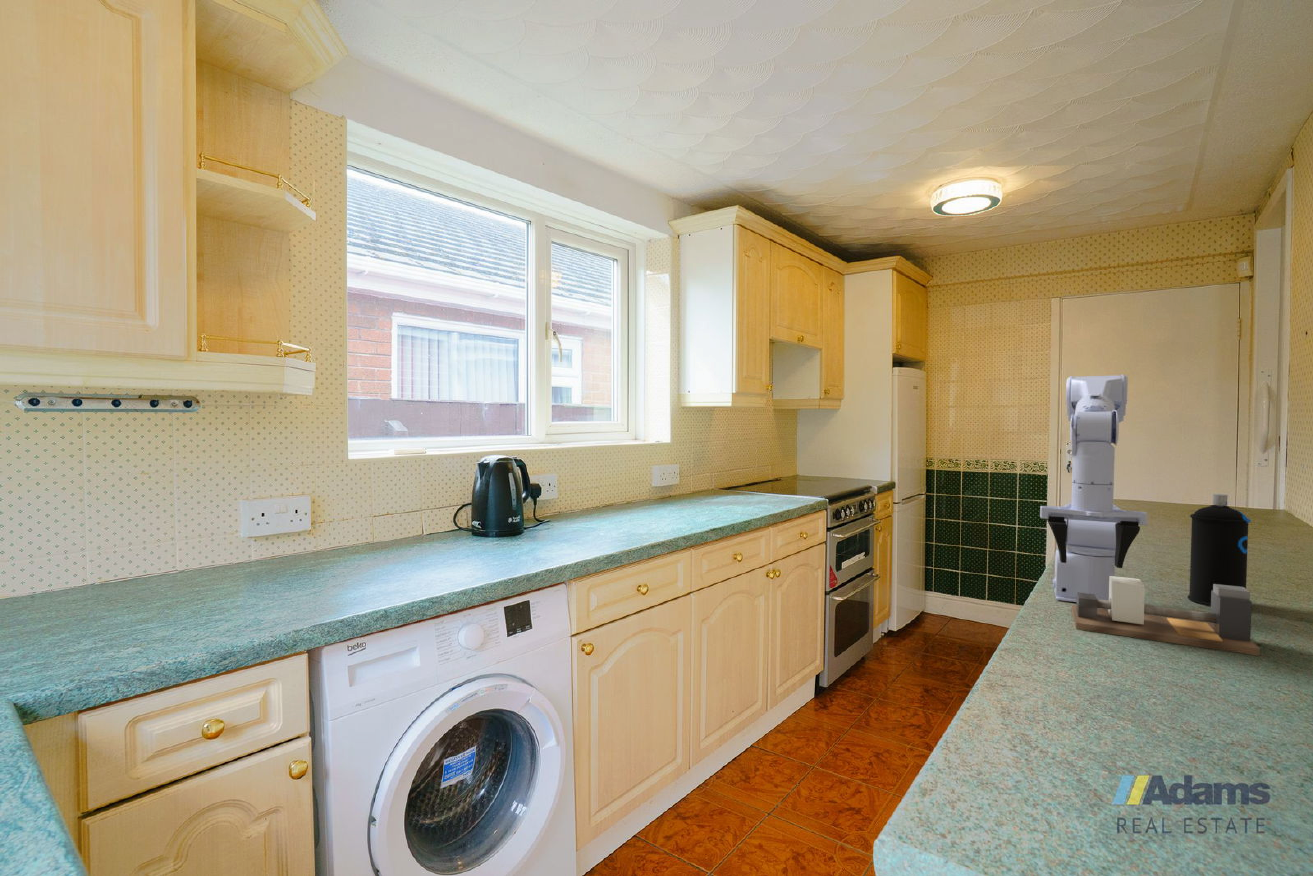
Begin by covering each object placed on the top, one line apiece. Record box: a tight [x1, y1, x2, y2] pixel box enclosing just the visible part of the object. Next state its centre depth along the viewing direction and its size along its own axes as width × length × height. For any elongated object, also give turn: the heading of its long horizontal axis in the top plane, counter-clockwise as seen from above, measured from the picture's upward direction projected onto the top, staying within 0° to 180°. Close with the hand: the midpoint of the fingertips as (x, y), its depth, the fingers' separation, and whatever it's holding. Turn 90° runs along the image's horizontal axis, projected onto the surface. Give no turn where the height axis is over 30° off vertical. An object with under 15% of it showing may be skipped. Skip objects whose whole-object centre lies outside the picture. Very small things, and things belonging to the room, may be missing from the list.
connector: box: [1209, 584, 1253, 642], centre depth 94 cm, size 4×5×7 cm
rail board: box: [1070, 592, 1261, 656], centre depth 99 cm, size 22×11×4 cm, turn 60°
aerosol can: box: [1187, 493, 1251, 607], centre depth 114 cm, size 8×8×20 cm
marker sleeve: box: [1108, 575, 1146, 624], centre depth 101 cm, size 4×5×6 cm
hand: (1090, 564), depth 104 cm, fingers open, 7 cm apart
